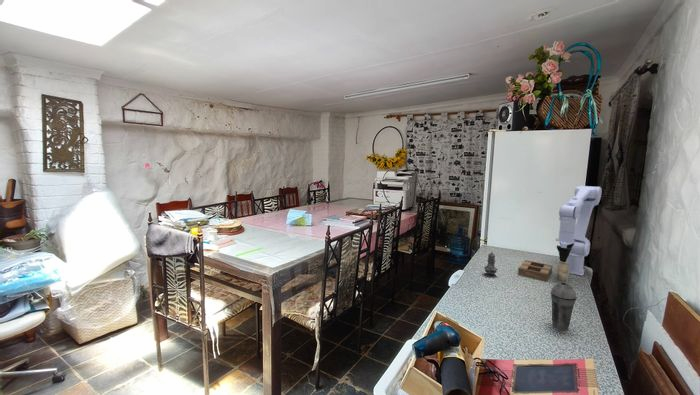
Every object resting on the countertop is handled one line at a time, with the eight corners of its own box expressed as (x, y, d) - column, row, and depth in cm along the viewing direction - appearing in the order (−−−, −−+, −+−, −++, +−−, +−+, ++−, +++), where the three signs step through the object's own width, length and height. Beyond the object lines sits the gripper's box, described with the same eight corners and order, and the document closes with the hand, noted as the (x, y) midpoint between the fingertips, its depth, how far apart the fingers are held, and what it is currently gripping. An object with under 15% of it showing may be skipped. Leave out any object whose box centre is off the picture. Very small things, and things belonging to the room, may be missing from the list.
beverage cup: (542, 321, 107) (547, 267, 104) (561, 320, 108) (567, 266, 105) (558, 333, 100) (564, 275, 97) (578, 332, 100) (585, 275, 98)
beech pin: (557, 277, 146) (559, 261, 144) (567, 279, 143) (569, 263, 142) (556, 279, 143) (557, 263, 141) (566, 282, 140) (568, 265, 139)
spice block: (525, 266, 159) (525, 260, 159) (552, 272, 152) (552, 265, 151) (517, 274, 148) (518, 268, 148) (546, 281, 140) (547, 274, 140)
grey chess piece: (498, 278, 144) (500, 254, 143) (485, 277, 145) (486, 253, 144) (495, 273, 150) (496, 250, 148) (482, 272, 151) (483, 249, 149)
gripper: (558, 226, 147) (556, 253, 149) (554, 232, 137) (551, 261, 139) (576, 229, 143) (573, 256, 145) (573, 235, 132) (570, 265, 134)
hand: (564, 259), depth 141 cm, fingers open, 7 cm apart
